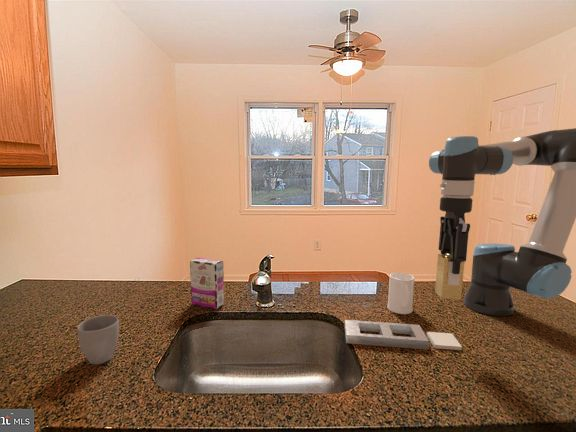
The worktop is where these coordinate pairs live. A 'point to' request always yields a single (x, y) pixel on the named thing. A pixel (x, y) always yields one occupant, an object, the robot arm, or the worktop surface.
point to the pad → (444, 341)
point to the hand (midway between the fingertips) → (448, 280)
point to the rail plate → (385, 334)
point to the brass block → (442, 277)
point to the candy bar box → (207, 283)
